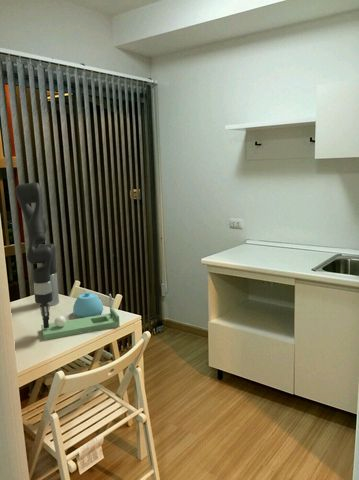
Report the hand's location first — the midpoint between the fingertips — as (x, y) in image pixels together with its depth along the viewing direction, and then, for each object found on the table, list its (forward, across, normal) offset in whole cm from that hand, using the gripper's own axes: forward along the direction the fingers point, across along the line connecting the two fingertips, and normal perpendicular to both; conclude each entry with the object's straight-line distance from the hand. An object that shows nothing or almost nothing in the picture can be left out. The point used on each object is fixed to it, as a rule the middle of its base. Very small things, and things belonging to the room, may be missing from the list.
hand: (46, 327), depth 185 cm
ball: (-2, 0, +6) cm, 7 cm away
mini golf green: (+3, 0, +15) cm, 16 cm away
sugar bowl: (+4, -17, +22) cm, 28 cm away
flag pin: (+1, +1, +30) cm, 30 cm away
